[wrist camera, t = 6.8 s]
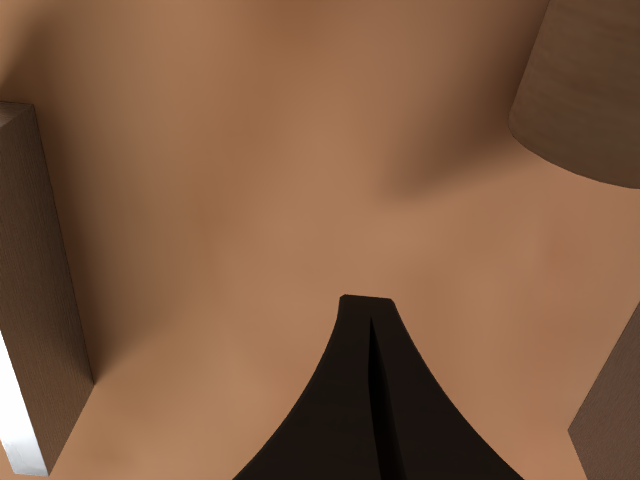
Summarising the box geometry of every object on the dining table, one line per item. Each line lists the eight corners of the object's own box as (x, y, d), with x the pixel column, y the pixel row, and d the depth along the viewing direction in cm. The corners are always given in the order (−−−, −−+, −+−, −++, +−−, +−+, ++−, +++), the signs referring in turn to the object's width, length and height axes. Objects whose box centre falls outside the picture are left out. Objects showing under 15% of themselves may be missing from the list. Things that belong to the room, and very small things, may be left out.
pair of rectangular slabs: (752, 178, 15) (863, 257, 12) (595, 433, 22) (640, 529, 19) (-9, 100, 15) (-110, 160, 12) (64, 384, 22) (14, 473, 18)
